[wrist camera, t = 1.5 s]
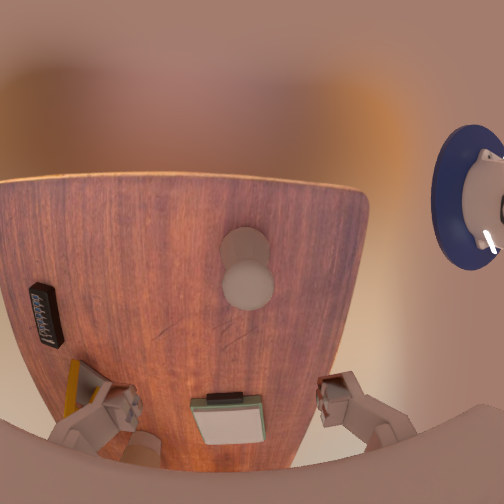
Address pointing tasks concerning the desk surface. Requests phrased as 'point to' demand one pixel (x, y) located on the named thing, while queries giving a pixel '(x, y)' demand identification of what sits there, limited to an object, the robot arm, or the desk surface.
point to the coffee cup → (143, 450)
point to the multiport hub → (46, 314)
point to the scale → (229, 418)
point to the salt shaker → (246, 269)
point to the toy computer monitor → (81, 386)
